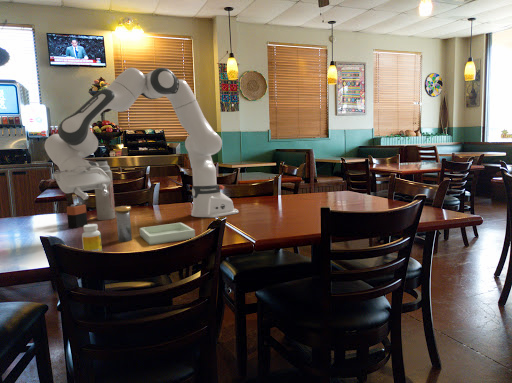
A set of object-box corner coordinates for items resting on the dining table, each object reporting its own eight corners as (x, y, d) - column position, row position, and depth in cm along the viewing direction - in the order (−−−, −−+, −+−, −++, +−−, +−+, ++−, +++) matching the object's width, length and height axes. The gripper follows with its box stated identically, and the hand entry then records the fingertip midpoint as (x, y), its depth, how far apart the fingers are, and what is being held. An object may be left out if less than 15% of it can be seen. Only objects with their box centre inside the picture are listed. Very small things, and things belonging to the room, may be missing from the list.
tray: (181, 229, 150) (181, 222, 149) (195, 238, 136) (194, 229, 135) (140, 235, 142) (139, 227, 142) (150, 245, 128) (149, 236, 128)
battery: (88, 225, 166) (86, 202, 164) (75, 228, 159) (73, 205, 158) (80, 224, 167) (78, 202, 166) (67, 228, 161) (65, 204, 160)
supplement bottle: (82, 255, 119) (79, 225, 118) (99, 251, 122) (97, 222, 121) (85, 259, 115) (82, 227, 113) (104, 255, 118) (101, 225, 117)
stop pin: (131, 237, 140) (129, 205, 138) (134, 240, 135) (132, 207, 134) (115, 239, 137) (113, 207, 136) (118, 243, 132) (115, 209, 131)
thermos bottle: (118, 216, 183) (114, 158, 179) (109, 220, 175) (104, 159, 172) (103, 216, 185) (98, 159, 181) (93, 220, 177) (88, 159, 173)
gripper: (54, 165, 131) (77, 194, 129) (100, 162, 150) (121, 187, 147) (46, 178, 134) (69, 206, 131) (93, 173, 152) (113, 198, 150)
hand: (97, 196), depth 139 cm, fingers open, 8 cm apart
